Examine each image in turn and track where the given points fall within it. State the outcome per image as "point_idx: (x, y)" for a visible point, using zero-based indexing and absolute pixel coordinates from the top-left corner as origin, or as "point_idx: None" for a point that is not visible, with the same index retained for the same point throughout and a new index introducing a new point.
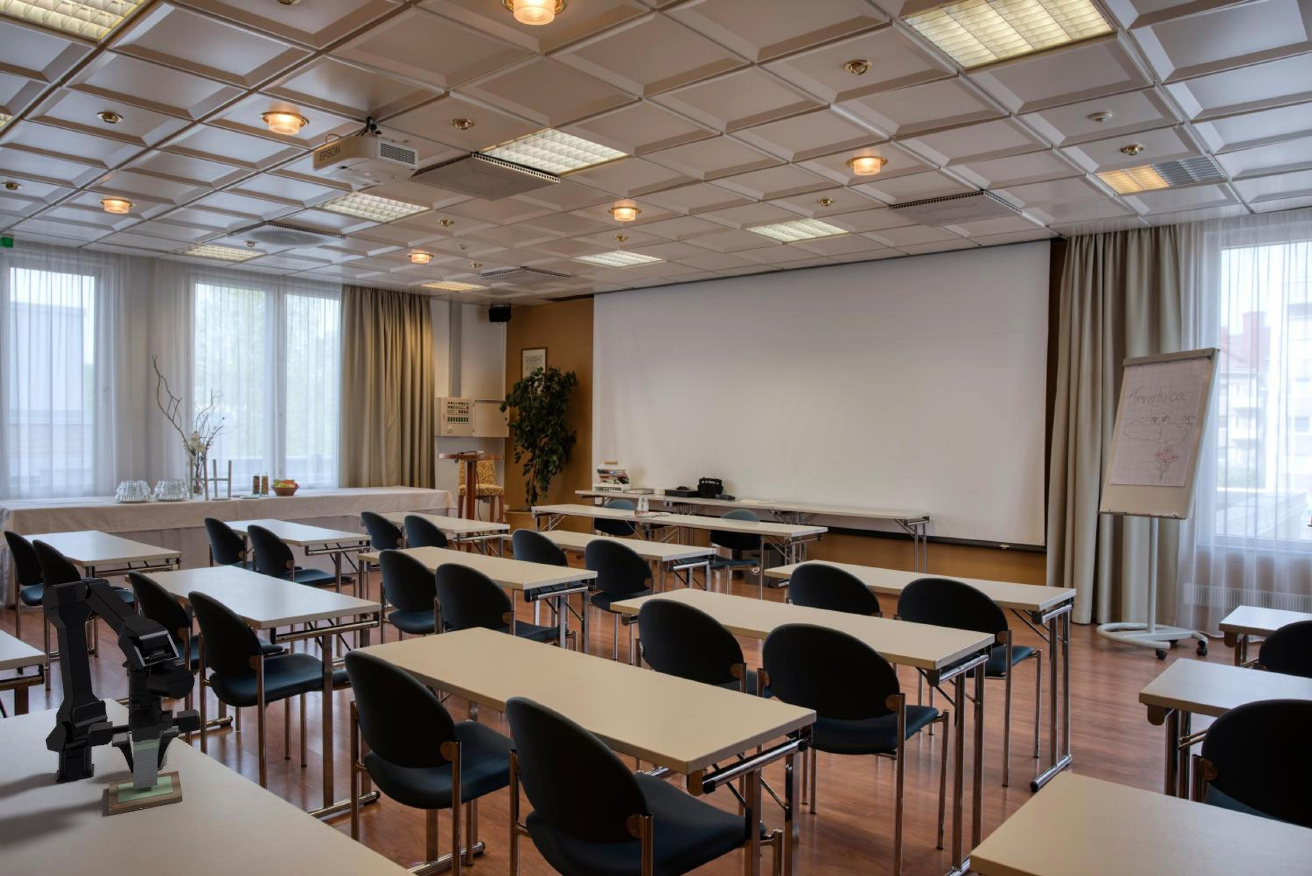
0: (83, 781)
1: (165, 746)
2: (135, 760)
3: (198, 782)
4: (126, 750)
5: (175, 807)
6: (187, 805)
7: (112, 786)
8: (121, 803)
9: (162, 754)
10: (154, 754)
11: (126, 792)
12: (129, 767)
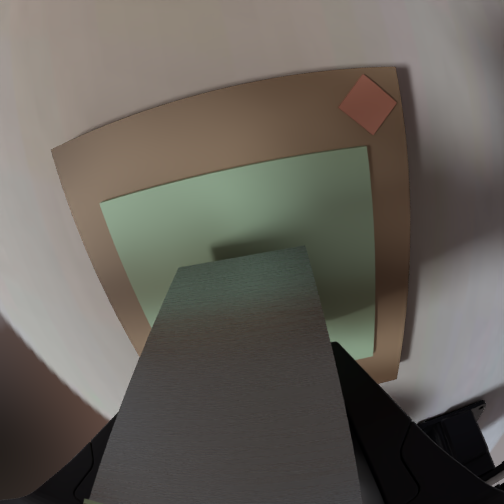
0: (438, 406)
1: (60, 483)
2: (324, 404)
3: (81, 323)
4: (438, 502)
5: (78, 81)
6: (40, 98)
7: (391, 352)
8: (347, 136)
9: (109, 436)
10: (133, 441)
11: (339, 271)
12: (360, 370)
